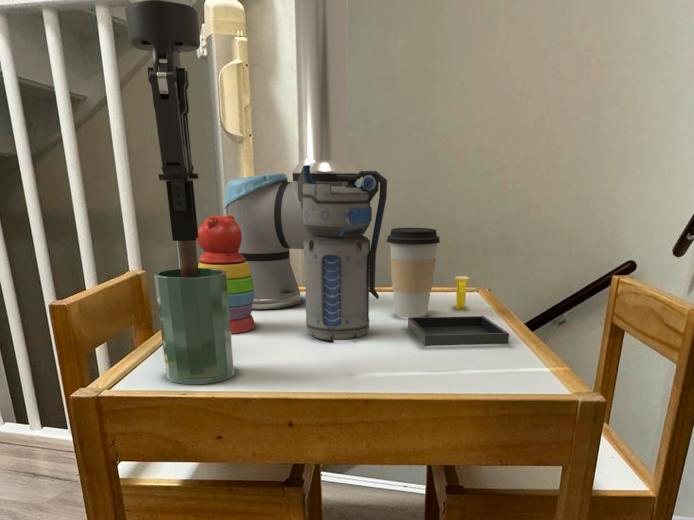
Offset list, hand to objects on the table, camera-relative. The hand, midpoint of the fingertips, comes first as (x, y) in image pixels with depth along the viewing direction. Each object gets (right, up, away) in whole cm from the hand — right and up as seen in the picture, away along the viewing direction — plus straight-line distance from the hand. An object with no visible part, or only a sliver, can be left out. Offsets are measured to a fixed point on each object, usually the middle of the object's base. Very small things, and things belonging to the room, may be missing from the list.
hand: (185, 238), depth 81 cm
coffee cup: (+30, +1, +41) cm, 51 cm away
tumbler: (0, -16, +7) cm, 17 cm away
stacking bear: (-2, -4, +32) cm, 32 cm away
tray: (+37, -6, +27) cm, 46 cm away
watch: (+40, +4, +48) cm, 63 cm away
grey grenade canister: (+18, -6, +27) cm, 33 cm away
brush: (0, -9, +4) cm, 10 cm away
